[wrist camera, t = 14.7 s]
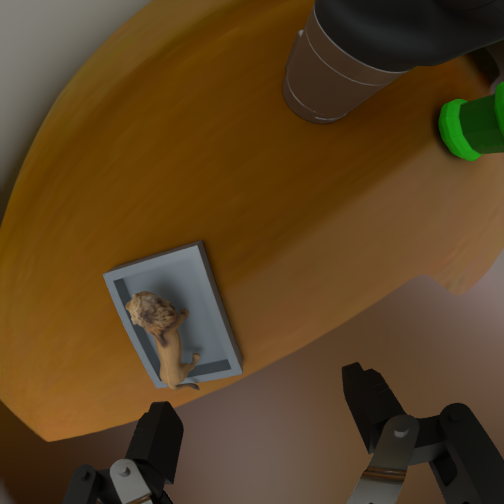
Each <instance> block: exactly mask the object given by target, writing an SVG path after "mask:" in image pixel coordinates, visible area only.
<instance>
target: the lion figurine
mask: <svg viewBox="0 0 504 504" xmlns="http://www.w3.org/2000/svg"><path fill="white" fill-rule="evenodd" d="M132 298H133V299H132V300H130V301H129V302H128V303H126V306H125V307H126V309H127V310H129V312H130V315H131V316H132V317H131V320H132V322H133V324H134V325H136V324H138V325H139V326H141V327H144V328H145V330H147V333H149V334H152V335H153V337H154V338H155V343H156V348H157V352H158V354H159V358H160V363H161V365H160V373H159V374H160V378H161V380H162V382H163V383H164V384H166V385H168V386H169V387H170V388H171V389H173V390H179V389H182V388H184V387H192V388H194V389H196V390H199V387H198V386H197V385H196V384H193V383H185V384H180V383H181V382H183V381H184V380H185V378H186V377H187V375H188V373H189V371H191V370H193V369H194V367H195V365H196V364H197V363H198V361H199V360H200V354H199V353H193V354H192V362H191V363H190V364H189V363H184V364H183V363H182V362H181V356H182V341H181V337H180V334H179V332H178V328H179V326H180V324H181V323H182V322H183V321H185V320H186V319H187V317H188V316H189V311H188V310H186V309H183V310H181V311H180V314H177V313H176V308H175V307H174V306H171V303H170V302H169V301H167V300H165V299H164V298H161V297H160V296H158V295H156V294H153V293H151V292H147V291H142V292H139V293H137V294H133V295H132Z"/></svg>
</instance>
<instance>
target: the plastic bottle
mask: <svg viewBox="0 0 504 504" xmlns="http://www.w3.org/2000/svg"><path fill="white" fill-rule="evenodd" d="M438 125H439V131H440V135H441V138H442V140H443V141H444V143H445V144H446V146H447V147H448V149H449V150H450V152H451V153H452V154H454V155H456V156H458V157H460V158H463V159H465V160H467V161H474V160H475V159H477V158H478V157H480V156H481V155H482V154H487V153H501V152H504V82H502V83H501V84H499V85H498V86H496V91H495V94H493V95H489V96H486V97H483V98H479V99H476V100H473V101H469V102H468V101H466V100H463V99H456V100H453V101H451V102H448V103H446V104H444V105H443V107H442V108H441V112H440V117H439V121H438Z"/></svg>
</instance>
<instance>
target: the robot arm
mask: <svg viewBox="0 0 504 504" xmlns="http://www.w3.org/2000/svg"><path fill="white" fill-rule="evenodd" d="M503 39H504V0H315V3H314V5H313V8H312V10H311V12H310V15H309V17H308V20H307V23H306V25H305V27H304V29H303V30H300V31H299V32H298V33H297V36H296V38H295V41H294V44H293V47H292V49H291V52H290V55H289V58H288V60H287V63H286V66H285V69H286V72H287V73H286V75H285V78H284V81H283V87H282V88H283V95H284V98H285V101H286V102H287V104H288V106H289V107H290V108H291V109H292V110H293V112H294V113H296V114H297V115H298V116H300V117H301V118H303V119H305V120H307V121H310V122H313V123H320V124H324V123H331V122H335V121H336V120H338V119H340V118H341V117H343V116H345V115H346V114H347V113H348V112H350V111H351V110H353V109H354V108H355V107H357V106H358V105H360V104H361V103H362V102H364V101H365V100H367V99H368V98H369V97H371V96H372V95H374V94H375V93H377V92H378V91H379V90H381V89H382V88H384V87H385V86H387V85H388V84H390V83H391V82H393V81H394V80H396V79H397V78H398V77H400V76H401V75H403V74H404V73H406V72H408V71H409V70H411V69H412V68H414V67H416V66H434V65H439V64H442V63H445V62H447V61H449V60H452V59H454V58H456V57H459V56H461V55H463V54H466V53H468V52H471V51H474V50H476V49H479V48H481V47H484V46H487V45H489V44H493V43H495V42H498V41H501V40H503ZM342 380H343V391H344V395H345V399H346V402H347V404H348V406H349V409H350V411H351V413H352V416H353V418H354V420H355V423H356V425H357V427H358V430H359V432H360V434H361V437H362V439H363V442H364V444H365V446H366V449H367V451H368V454H371V453H374V454H373V456H372V458H371V461H370V463H369V465H368V467H367V469H366V470H365V471H364V472H363V474H362V476H361V477H360V479H359V481H358V483H357V486H356V487H355V489H354V491H353V493H352V495H351V497H350V498H349V500H348V502H347V504H395V502H396V500H397V497H398V495H399V493H400V490H401V487H402V485H403V482H404V479H405V476H406V472H407V469H408V466H410V465H415V464H420V463H424V462H428V463H429V465H430V467H431V469H432V471H433V474H434V476H435V478H436V481H437V483H438V485H439V488H440V490H441V492H442V495H443V497H444V500H445V502H446V504H504V460H503V458H502V456H501V455H500V453H499V452H498V450H497V448H496V447H495V445H494V444H493V442H492V441H491V439H490V438H489V436H488V434H487V433H486V431H485V430H484V429H483V427H482V426H481V424H480V423H479V421H478V420H477V418H476V417H475V416H474V414H473V413H472V411H471V410H470V408H469V407H467V406H466V405H465V404H462V403H454V404H450V405H448V406H446V407H445V408H444V409H443V410H442V412H441V413H440V415H437V416H433V417H428V418H421V419H419V418H414V417H413V416H411V415H408V414H406V413H405V411H404V410H403V408H402V407H401V405H400V403H399V402H398V400H397V399H396V397H395V396H394V394H393V392H392V391H391V390H390V388H389V387H388V385H387V383H386V382H385V380H384V379H383V377H382V376H381V374H380V373H378V372H376V371H375V370H373V369H369V370H366V371H363V369H362V367H361V365H360V364H359V363H358V362H355V363H352V364H350V365H346V366H344V367H342ZM183 431H184V428H183V424H182V421H181V420H180V418H179V417H178V415H177V414H176V412H175V410H174V409H173V407H172V406H171V404H170V403H169V402H168V401H164V402H153V403H152V404H151V406H150V409H149V412H147V413H144V415H143V416H142V417H141V418H140V419H139V421H138V424H137V426H136V429H135V432H134V436H133V437H132V440H131V442H130V445H129V448H128V451H127V453H126V456H125V459H122V460H119V461H117V462H116V463H114V464H113V465H112V467H111V469H106V470H99V471H97V470H95V468H93V467H92V466H91V465H88V464H85V465H81V466H79V467H78V468H77V469H76V470H75V471H74V473H73V476H72V478H71V481H70V484H69V486H68V489H67V492H66V495H65V497H64V500H63V503H62V504H96V501H97V500H99V501H100V503H99V504H174V503H173V502H172V500H171V499H170V497H169V496H168V494H167V493H166V491H165V490H164V489H163V488H164V484H173V483H174V477H175V473H176V467H177V462H178V457H179V452H180V446H181V442H182V437H183Z"/></svg>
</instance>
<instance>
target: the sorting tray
mask: <svg viewBox="0 0 504 504" xmlns="http://www.w3.org/2000/svg"><path fill="white" fill-rule="evenodd" d="M103 276H104V279H105V282H106V284H107V287H108V289H109V292H110V294H111V297H112V299H113V302H114V304H115V306H116V309H117V311H118V313H119V316H120V318H121V320H122V322H123V325H124V327H125V329H126V331H127V333H128V335H129V337H130V339H131V341H132V343H133V346H134V348H135V349H136V351H137V353H138V355H139V357H140V359H141V361H142V363H143V365H144V367H145V369H146V370H147V372H148V374H149V376H150V378H151V379H152V381H153V383H154V384H155V386H156V388H163V387H169V386H168V385H166V384H164V383H163V382H162V380H161V378H160V374H159V373H160V365H161V363H160V358H159V354H158V352H157V348H156V343H155V338H154V337H153V335H152V334H149V333H147V330H145V328H144V327H141V326H139V325H138V324H136V325H134V324H133V322H132V320H131V317H132V316H131V315H130V312H129V310H127V309H126V307H125V306H126V303H128V302H129V301H130V300H132V299H133V298H132V295H133V294H137V293H139V292H142V291H147V292H151V293H153V294H156V295H158V296H160V297H161V298H164V299H165V300H167V301H169V302H170V303H171V306H174V307H175V308H176V313H177V314H180V311H181V310H183V309H186V310H188V311H189V316H188V317H187V319H186V320H185V321H183V322H182V323H181V324H180V326H179V328H178V332H179V334H180V337H181V341H182V356H181V362H182V363H183V364H184V363H189V364H190V363H191V362H192V354H193V353H199V354H200V360H199V361H198V363H197V364H196V365H195V367H194V369H193V370H191V371H189V373H188V375H187V377H186V378H185V380H184V381H183V382H181V383H180V384H185V383H198V382H204V381H210V380H215V379H221V378H226V377H231V376H235V375H240V374H243V359H242V356H241V354H240V351H239V348H238V346H237V343H236V340H235V337H234V335H233V332H232V329H231V326H230V323H229V321H228V318H227V315H226V312H225V309H224V306H223V303H222V300H221V297H220V294H219V292H218V289H217V286H216V283H215V280H214V276H213V273H212V270H211V267H210V264H209V261H208V258H207V255H206V252H205V249H204V245H203V242H202V240H200V241H197V242H194V243H190V244H187V245H184V246H180V247H177V248H174V249H170V250H167V251H164V252H161V253H157V254H154V255H151V256H148V257H144V258H141V259H138V260H135V261H132V262H129V263H125V264H122V265H119V266H116V267H114V268H112V269H110V270H109V271H107V272H105V273H104V274H103Z"/></svg>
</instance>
